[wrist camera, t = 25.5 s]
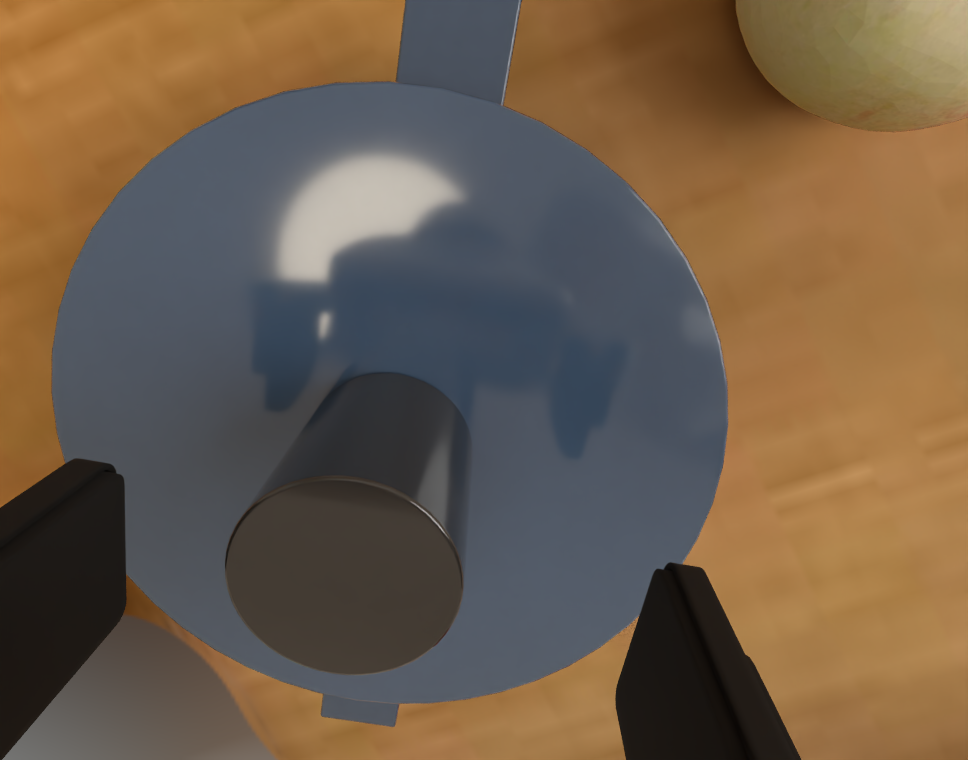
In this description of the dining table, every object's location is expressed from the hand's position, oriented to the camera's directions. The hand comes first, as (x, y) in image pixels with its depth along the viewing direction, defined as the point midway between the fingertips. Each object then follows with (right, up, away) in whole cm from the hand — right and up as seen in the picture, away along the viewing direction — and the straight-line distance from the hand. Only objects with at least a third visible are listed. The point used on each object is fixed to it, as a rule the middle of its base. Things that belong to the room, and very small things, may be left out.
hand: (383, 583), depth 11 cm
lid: (-1, +2, +5) cm, 5 cm away
